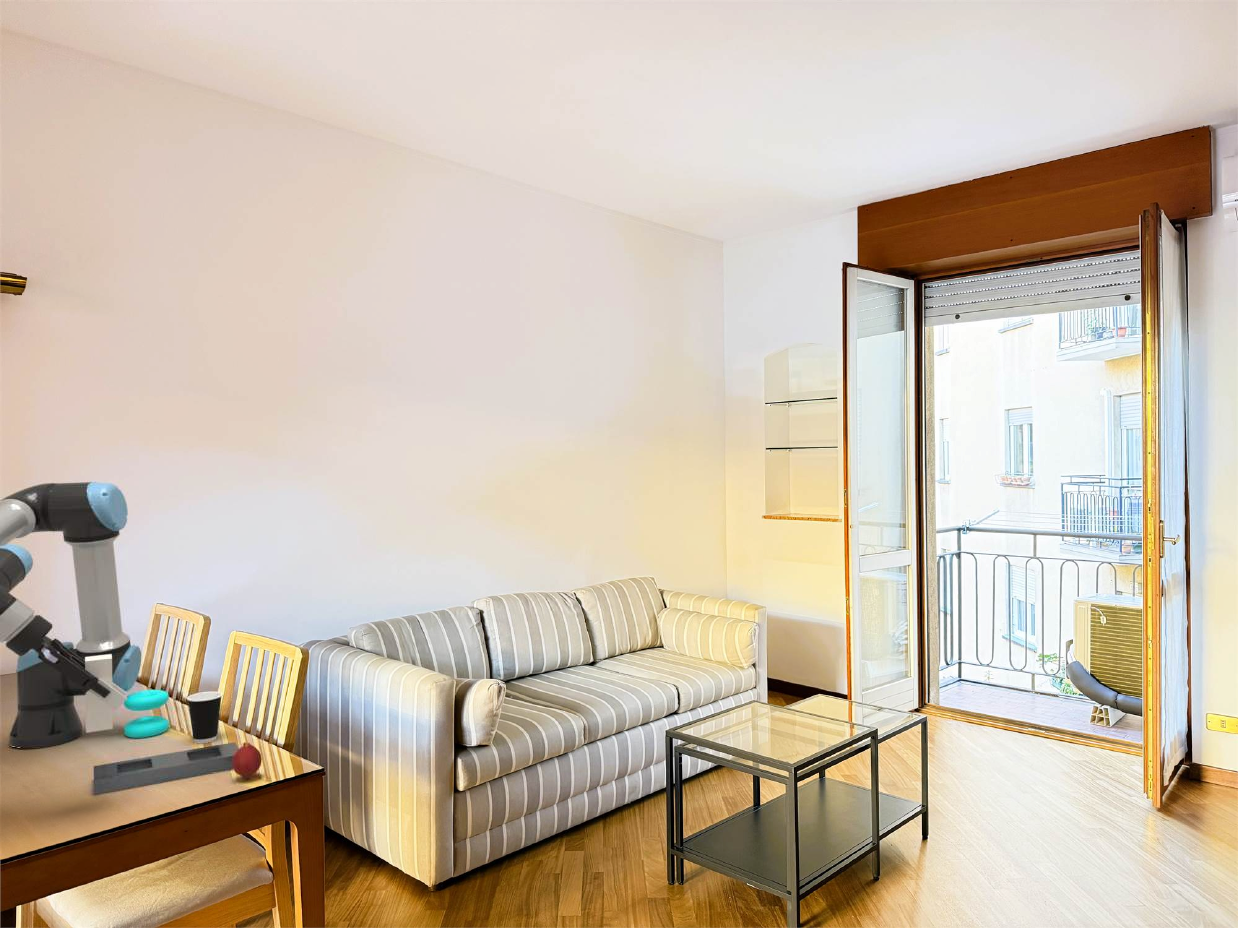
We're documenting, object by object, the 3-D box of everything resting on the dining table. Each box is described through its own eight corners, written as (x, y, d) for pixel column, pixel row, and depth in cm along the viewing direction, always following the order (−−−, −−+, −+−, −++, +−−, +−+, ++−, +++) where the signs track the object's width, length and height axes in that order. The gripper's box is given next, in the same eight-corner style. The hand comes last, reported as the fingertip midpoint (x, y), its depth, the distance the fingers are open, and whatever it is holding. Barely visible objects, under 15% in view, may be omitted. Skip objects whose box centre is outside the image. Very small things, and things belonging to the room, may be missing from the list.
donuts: (173, 687, 220) (161, 697, 210) (174, 725, 220) (161, 737, 210) (131, 689, 218) (117, 700, 208) (132, 728, 218) (117, 740, 208)
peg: (86, 732, 165) (85, 661, 165) (86, 726, 169) (85, 656, 169) (112, 728, 167) (111, 658, 167) (112, 722, 171) (111, 653, 171)
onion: (238, 774, 184) (237, 737, 184) (265, 772, 185) (265, 736, 185) (228, 783, 178) (227, 746, 178) (256, 782, 179) (255, 744, 179)
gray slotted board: (93, 794, 173) (93, 780, 173) (93, 779, 182) (93, 765, 182) (241, 767, 188) (241, 754, 188) (235, 754, 196) (235, 741, 196)
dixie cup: (179, 743, 206) (179, 698, 206) (207, 733, 213) (206, 690, 213) (203, 747, 202) (202, 701, 202) (230, 737, 210) (229, 692, 210)
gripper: (7, 636, 167) (105, 705, 176) (-2, 652, 153) (106, 727, 161) (39, 607, 170) (134, 676, 179) (34, 620, 155) (138, 695, 164)
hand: (121, 700), depth 170 cm, fingers closed on peg, 4 cm apart
